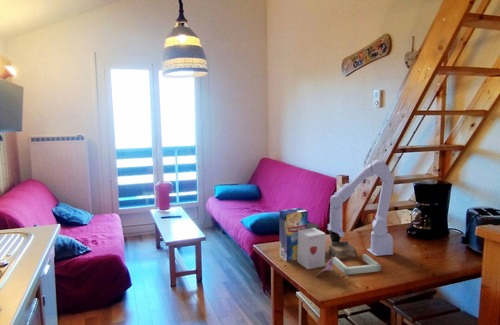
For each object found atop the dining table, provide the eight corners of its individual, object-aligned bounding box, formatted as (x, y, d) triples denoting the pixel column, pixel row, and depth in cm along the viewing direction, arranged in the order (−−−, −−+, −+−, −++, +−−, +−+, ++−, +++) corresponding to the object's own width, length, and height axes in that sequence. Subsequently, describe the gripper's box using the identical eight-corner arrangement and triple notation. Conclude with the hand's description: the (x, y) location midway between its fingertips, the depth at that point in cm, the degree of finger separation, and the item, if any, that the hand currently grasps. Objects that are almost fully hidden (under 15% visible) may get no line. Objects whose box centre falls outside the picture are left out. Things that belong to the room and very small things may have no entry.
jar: (309, 254, 172) (309, 229, 171) (297, 248, 179) (298, 225, 177) (323, 249, 177) (323, 226, 176) (311, 244, 184) (311, 221, 182)
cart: (350, 251, 175) (350, 240, 175) (357, 257, 168) (357, 246, 168) (328, 253, 173) (328, 242, 172) (334, 259, 166) (334, 248, 166)
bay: (365, 259, 166) (365, 254, 165) (380, 270, 154) (380, 265, 153) (332, 262, 163) (332, 257, 162) (345, 274, 150) (345, 268, 150)
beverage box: (307, 257, 169) (308, 211, 165) (286, 261, 164) (287, 214, 161) (299, 252, 175) (299, 207, 172) (279, 256, 170) (279, 210, 167)
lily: (335, 270, 157) (324, 250, 157) (354, 270, 147) (342, 248, 147) (316, 286, 151) (305, 265, 151) (334, 287, 140) (322, 264, 141)
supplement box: (307, 270, 155) (308, 236, 153) (296, 262, 163) (297, 229, 161) (325, 266, 159) (326, 233, 157) (313, 258, 167) (314, 227, 165)
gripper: (322, 215, 183) (321, 241, 185) (334, 224, 169) (333, 252, 171) (335, 214, 184) (334, 240, 186) (348, 223, 170) (347, 251, 172)
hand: (335, 246), depth 178 cm, fingers closed
